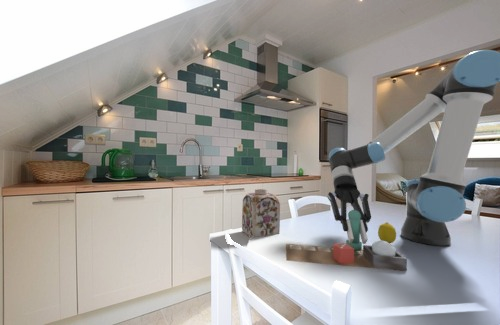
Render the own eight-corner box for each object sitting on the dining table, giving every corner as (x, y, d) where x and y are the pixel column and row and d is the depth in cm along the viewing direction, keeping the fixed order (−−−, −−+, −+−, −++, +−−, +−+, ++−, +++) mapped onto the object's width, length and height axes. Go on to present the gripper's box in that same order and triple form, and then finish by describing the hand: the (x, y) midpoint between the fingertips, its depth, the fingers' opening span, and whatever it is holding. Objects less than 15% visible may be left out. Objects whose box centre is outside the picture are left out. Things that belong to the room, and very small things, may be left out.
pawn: (358, 246, 70) (359, 208, 70) (363, 251, 65) (364, 211, 65) (344, 245, 70) (345, 208, 70) (348, 250, 66) (349, 211, 66)
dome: (389, 254, 63) (389, 238, 63) (399, 262, 58) (399, 245, 58) (368, 252, 64) (369, 236, 64) (376, 260, 59) (377, 243, 59)
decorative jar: (252, 240, 79) (253, 191, 79) (241, 231, 90) (241, 188, 90) (280, 236, 84) (281, 190, 84) (266, 228, 95) (267, 187, 95)
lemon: (399, 248, 75) (399, 225, 75) (381, 246, 76) (381, 223, 76) (391, 242, 80) (392, 221, 80) (375, 241, 81) (375, 219, 81)
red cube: (345, 256, 64) (346, 243, 64) (353, 263, 60) (354, 248, 60) (332, 257, 64) (333, 243, 64) (340, 263, 60) (340, 248, 60)
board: (384, 254, 69) (384, 241, 69) (407, 275, 56) (408, 259, 56) (285, 247, 74) (286, 234, 74) (286, 264, 61) (286, 249, 61)
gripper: (364, 188, 82) (383, 249, 65) (319, 186, 84) (327, 244, 68) (370, 174, 77) (392, 237, 60) (322, 173, 79) (331, 233, 63)
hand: (358, 241), depth 64 cm, fingers closed on pawn, 3 cm apart
